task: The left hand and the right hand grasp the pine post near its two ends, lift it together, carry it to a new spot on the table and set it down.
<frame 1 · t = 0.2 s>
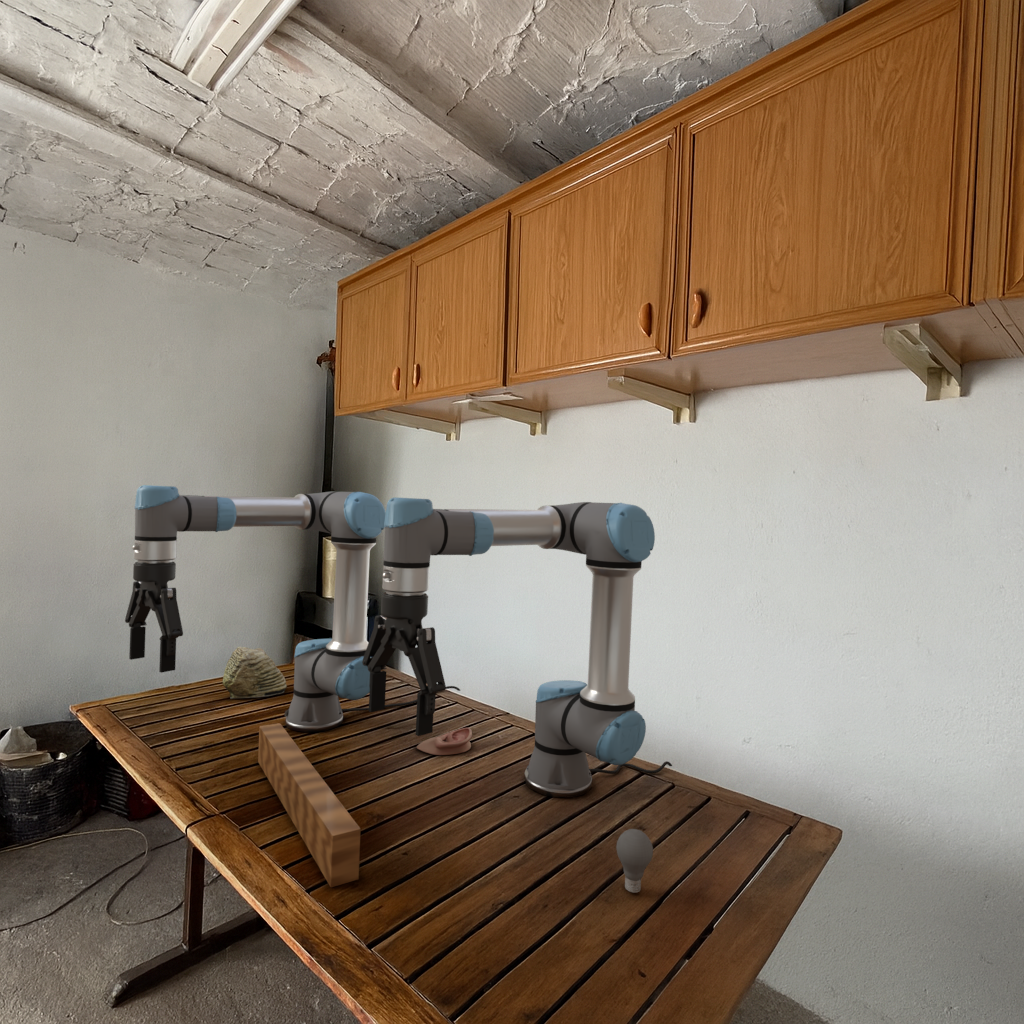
left hand: (151, 664, 130), 28 cm above the table, tool pointing down, fingers open, 13 cm apart
right hand: (399, 721, 104), 27 cm above the table, tool pointing down, fingers open, 13 cm apart
light bulb: (632, 891, 106), on the table
fossil: (254, 694, 198), on the table
anatomical model: (444, 747, 163), on the table
post: (299, 810, 128), on the table
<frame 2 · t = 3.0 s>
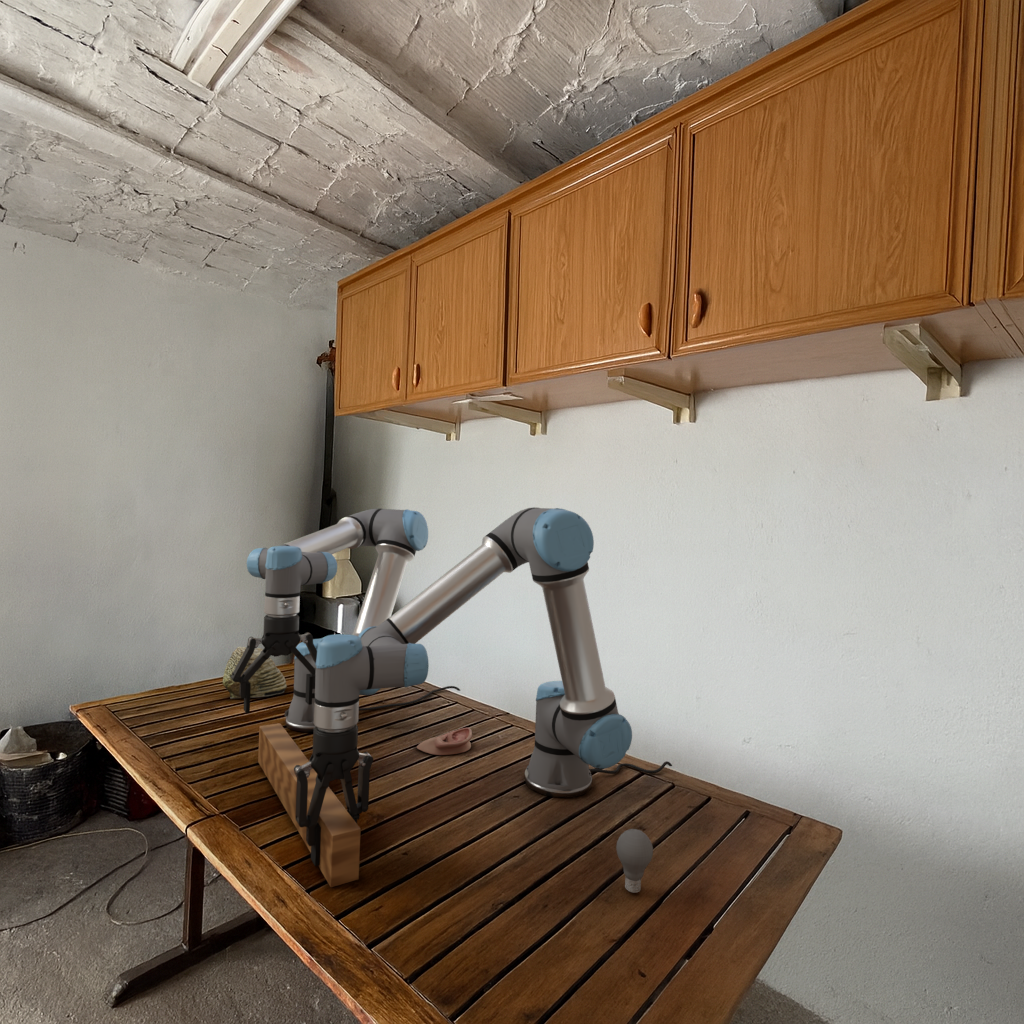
left hand: (278, 707, 144), 15 cm above the table, tool pointing down, fingers open, 13 cm apart
right hand: (330, 857, 111), 1 cm above the table, tool pointing down, fingers closed on post, 5 cm apart
post: (299, 810, 128), on the table, touching right hand
everything else where it was.
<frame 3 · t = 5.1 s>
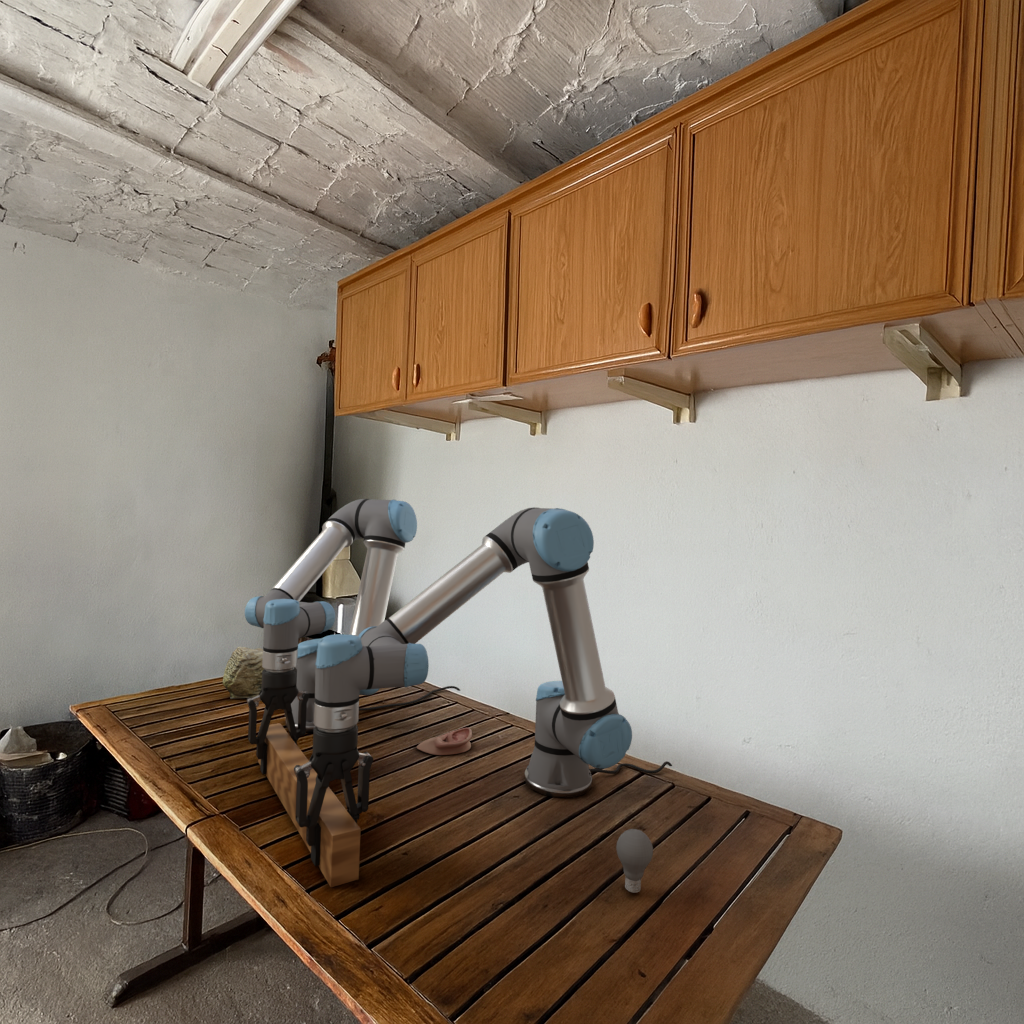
left hand: (276, 769, 145), 1 cm above the table, tool pointing down, fingers closed on post, 5 cm apart
right hand: (330, 857, 111), 1 cm above the table, tool pointing down, fingers closed on post, 5 cm apart
post: (299, 810, 128), on the table, touching left hand, right hand
everything else where it was.
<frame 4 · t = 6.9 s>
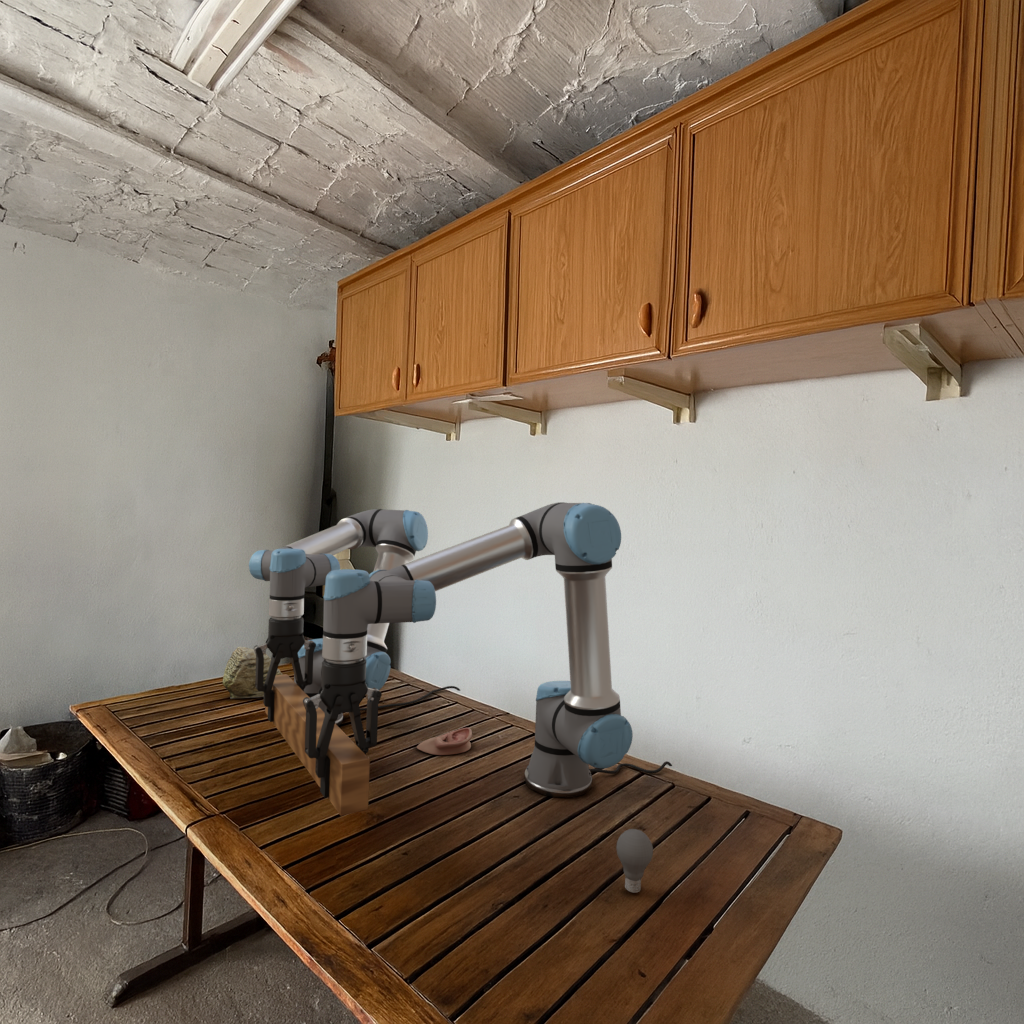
left hand: (283, 717, 145), 12 cm above the table, tool pointing down, fingers closed on post, 5 cm apart
right hand: (340, 790, 111), 12 cm above the table, tool pointing down, fingers closed on post, 5 cm apart
post: (307, 752, 128), point 12 cm above the table, touching left hand, right hand
everything else where it was.
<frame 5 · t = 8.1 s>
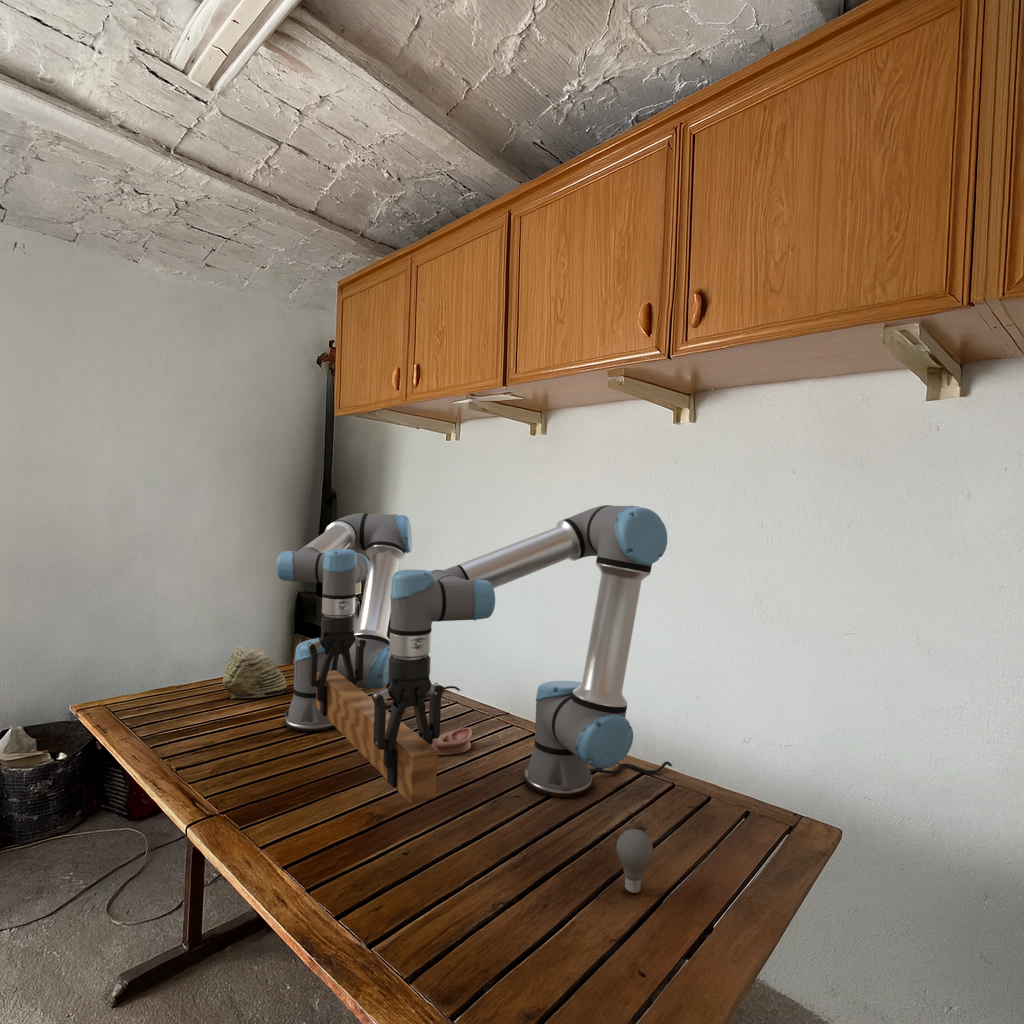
left hand: (335, 712, 150), 12 cm above the table, tool pointing down, fingers closed on post, 5 cm apart
right hand: (406, 780, 116), 12 cm above the table, tool pointing down, fingers closed on post, 5 cm apart
post: (366, 745, 133), point 12 cm above the table, touching left hand, right hand
everything else where it was.
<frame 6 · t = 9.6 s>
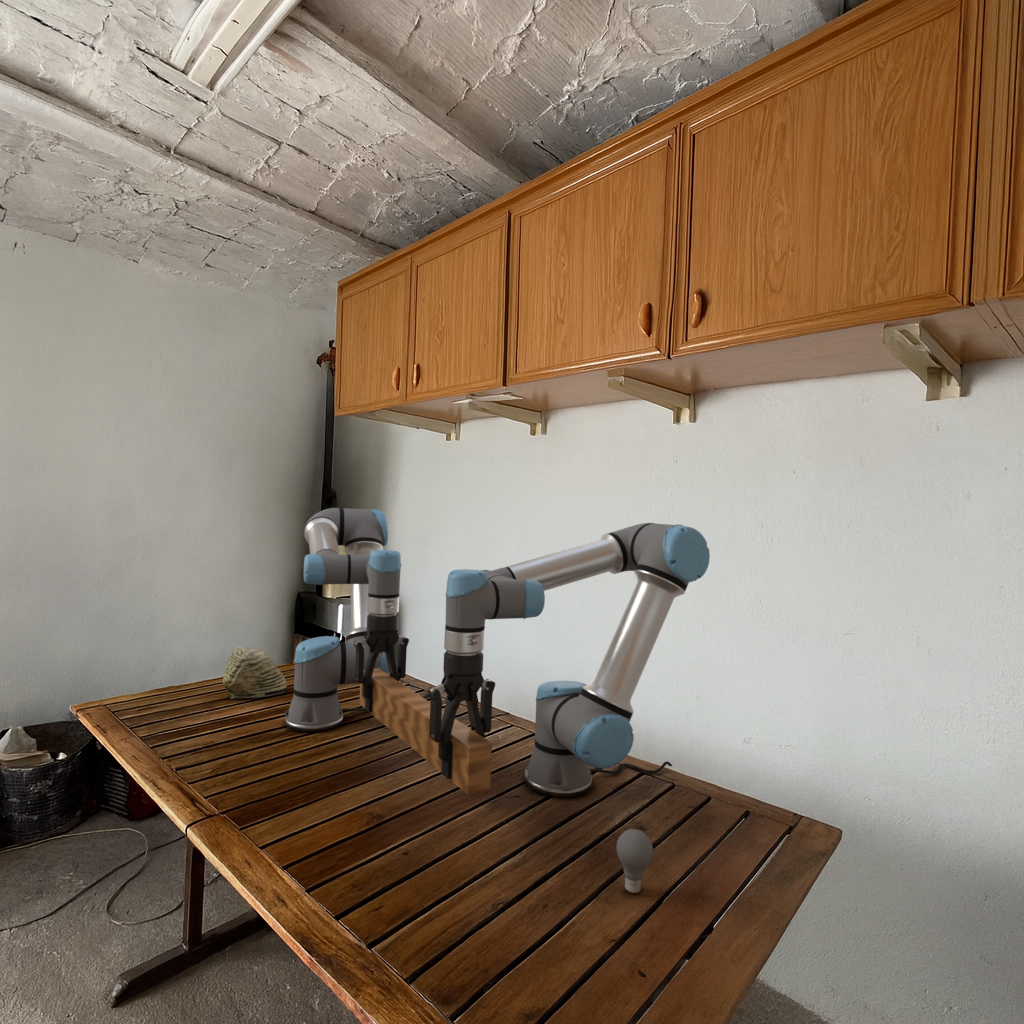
left hand: (379, 708, 155), 12 cm above the table, tool pointing down, fingers closed on post, 5 cm apart
right hand: (459, 772, 121), 12 cm above the table, tool pointing down, fingers closed on post, 5 cm apart
post: (414, 739, 138), point 11 cm above the table, touching left hand, right hand
everything else where it was.
when the left hand's fingers open (2 cm above the table, at t = 11.0 s): post drops 2 cm, on the table.
when the right hand's fingers open (2 cm above the table, at t = 11.0 s): post drops 2 cm, on the table.
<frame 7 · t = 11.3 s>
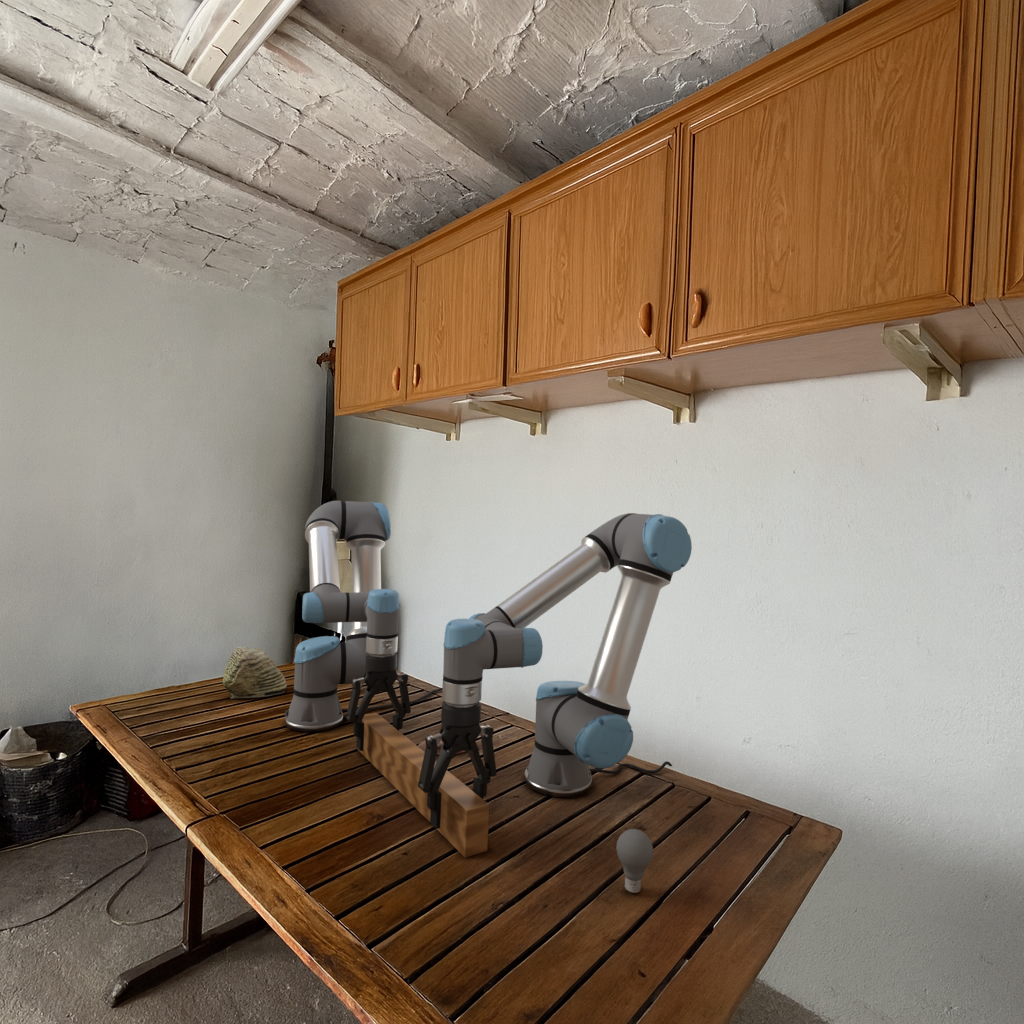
left hand: (377, 745, 155), 3 cm above the table, tool pointing down, fingers open, 8 cm apart
right hand: (456, 819, 121), 3 cm above the table, tool pointing down, fingers open, 8 cm apart
post: (411, 791, 138), on the table
everything else where it was.
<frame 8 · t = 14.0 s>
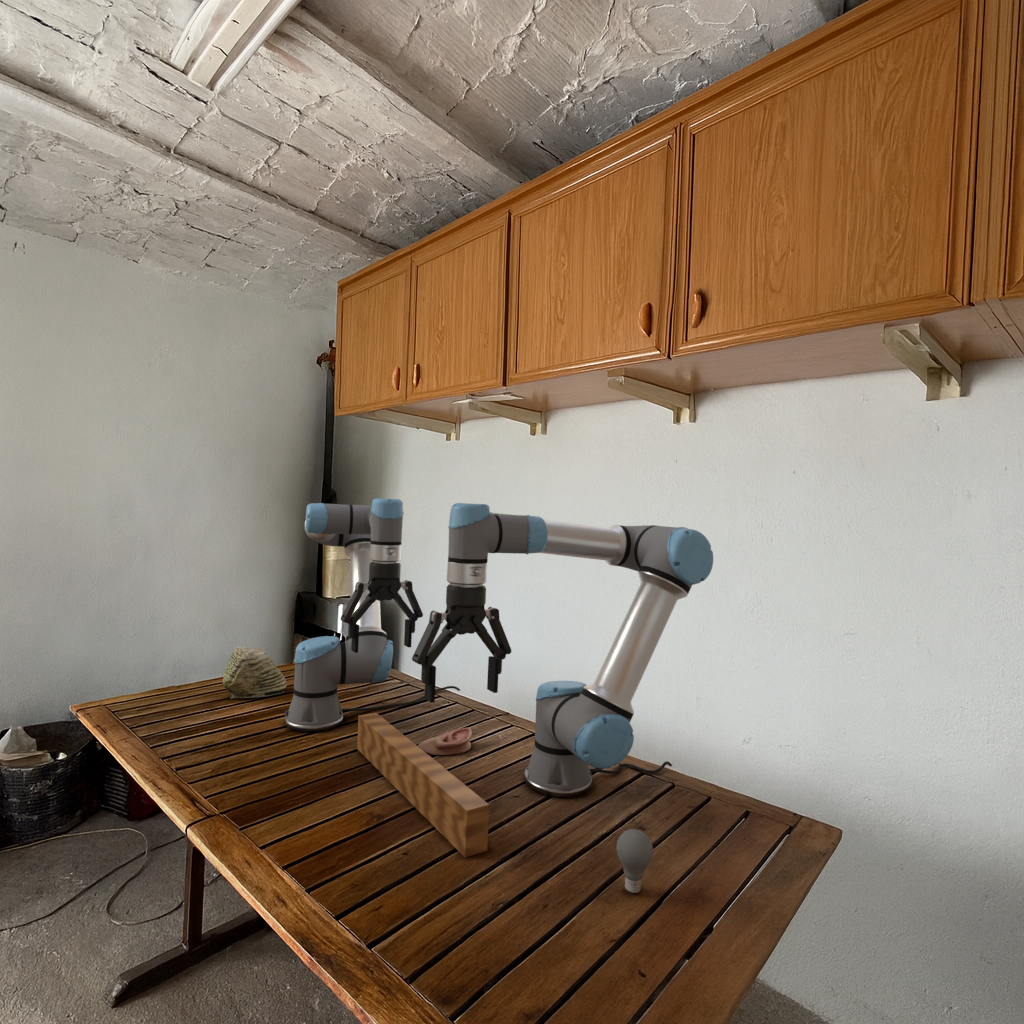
left hand: (381, 648, 154), 27 cm above the table, tool pointing down, fingers open, 13 cm apart
right hand: (461, 695, 120), 27 cm above the table, tool pointing down, fingers open, 13 cm apart
nothing on the table moved.
at the end: post inside the target area (0.1 cm from its centre), on the table; post tilted 0°; post never tilted more than 2° during the clip; both hands held the post at the same time; the left hand is holding nothing; the right hand is holding nothing; post at rest at the end (0.0 cm/s) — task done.
